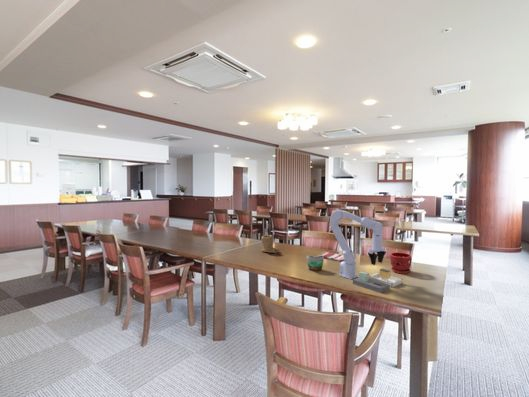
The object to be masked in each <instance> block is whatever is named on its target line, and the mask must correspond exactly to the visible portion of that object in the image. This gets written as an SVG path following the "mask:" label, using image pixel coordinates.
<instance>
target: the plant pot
mask: <svg viewBox="0 0 529 397" xmlns="http://www.w3.org/2000/svg"><path fill="white" fill-rule="evenodd" d="M389 259H390V260H389V261H390V265H391V271H392V272H394V273H397V274H403V275H405V274H409V273H410V272H411V269H410V268H411V266H412V265H411V264H412V255H411V254H410V253H406V252H399V251H398V252H396V251H395V252H391V253H390V255H389Z"/></svg>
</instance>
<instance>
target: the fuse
mask: <svg viewBox="0 0 529 397" xmlns="http://www.w3.org/2000/svg"><path fill="white" fill-rule="evenodd" d="M369 276H370V272H366V271H362V270H361V271H359V272H358V278H359V280H362V281H365V282H367V281H369Z"/></svg>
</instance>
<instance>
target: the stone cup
mask: <svg viewBox="0 0 529 397" xmlns="http://www.w3.org/2000/svg"><path fill="white" fill-rule="evenodd" d="M261 243H262V246H263V248H262V249H261V252H265V253H271V254H277V253H279V252H281V249H279V248H275V247H274V246H273V245H274V235H272V234H269V235H268V234H266V235H262V236H261Z"/></svg>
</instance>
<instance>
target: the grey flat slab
mask: <svg viewBox="0 0 529 397" xmlns="http://www.w3.org/2000/svg"><path fill="white" fill-rule="evenodd" d="M352 285H356V286H359V287H361V288H364V289H368V290H370V291H374V292H376V293H379V294H382V293H384V292H386V291H387V292H388V291H389V290H390V287H389V285H388V284H385V283H381V282H378V281H375V280H371V279H369V281H367V282H365V281H362V280H359V277H356V278H353V279H352Z"/></svg>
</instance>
